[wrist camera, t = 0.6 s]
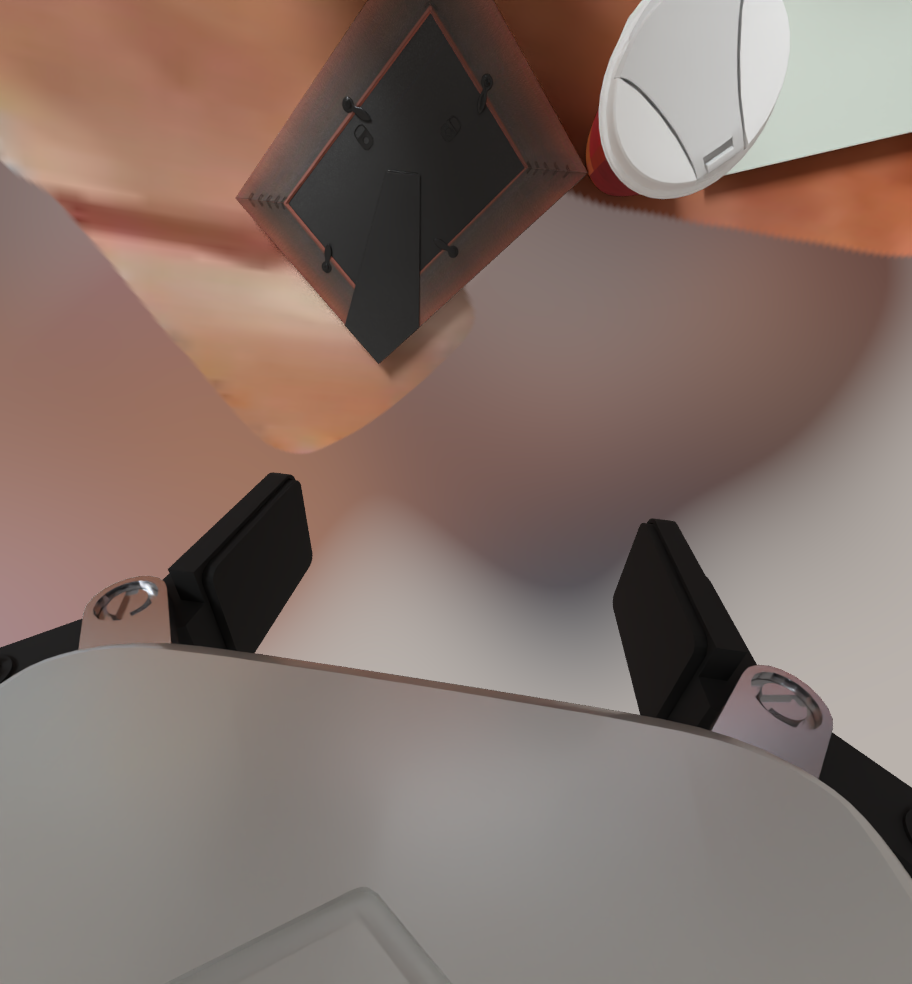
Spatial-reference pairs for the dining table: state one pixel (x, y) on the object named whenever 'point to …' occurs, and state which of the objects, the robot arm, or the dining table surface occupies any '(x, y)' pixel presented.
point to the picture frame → (410, 164)
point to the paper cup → (686, 94)
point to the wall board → (839, 80)
